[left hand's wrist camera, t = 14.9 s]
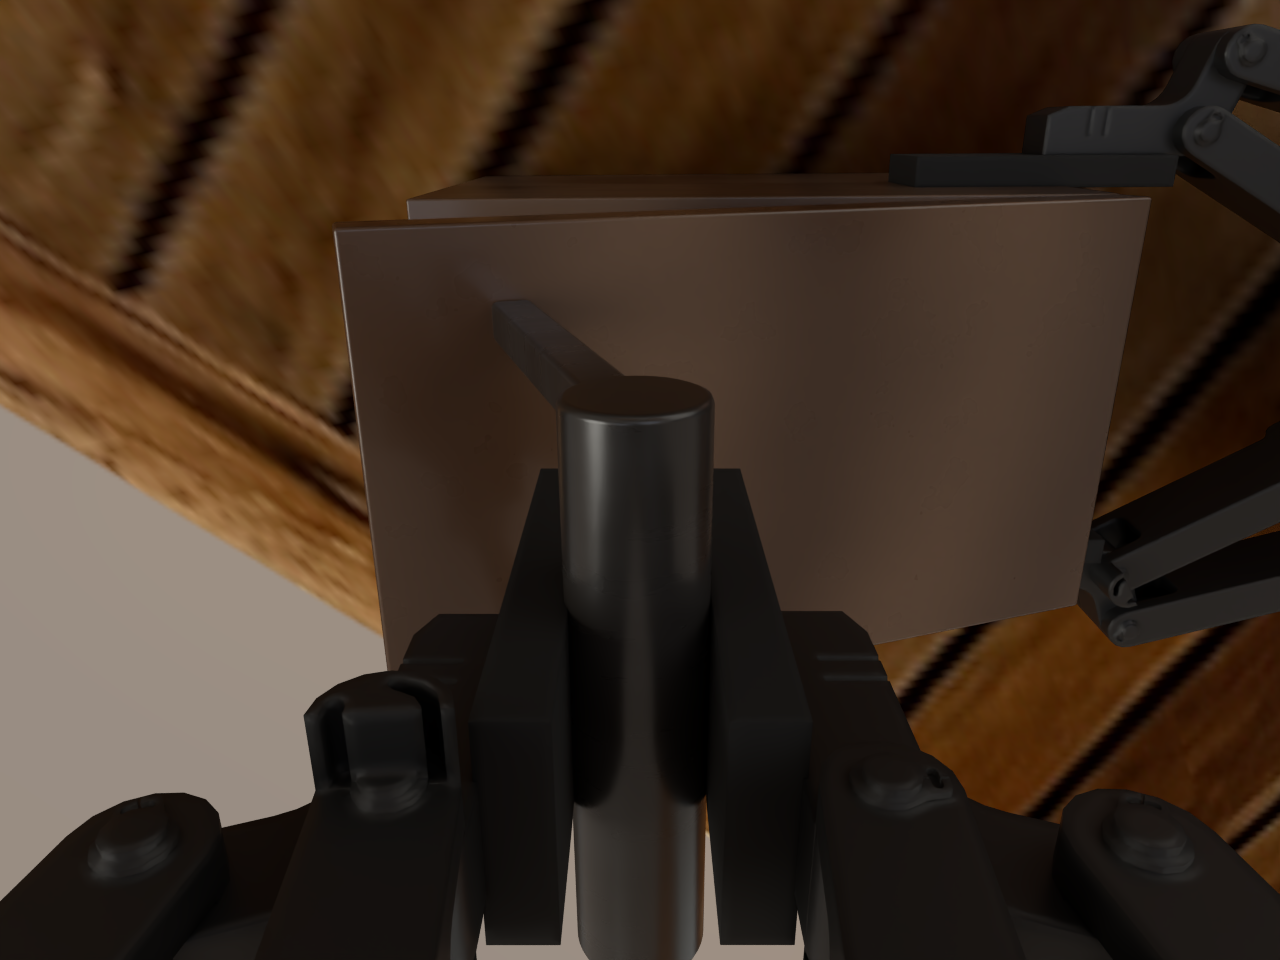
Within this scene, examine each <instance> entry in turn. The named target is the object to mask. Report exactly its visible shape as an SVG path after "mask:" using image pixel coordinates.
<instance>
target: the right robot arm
mask: <svg viewBox="0 0 1280 960" xmlns="http://www.w3.org/2000/svg"><path fill="white" fill-rule="evenodd" d="M1172 65H1173V71H1174V73H1173V75H1172V77H1171V78H1170V80H1169V82H1168V84H1167V86H1166V88H1165V89H1164V91H1163V92H1162V93H1161V94H1160V95H1159V96H1158V97H1157V98H1156V99H1155V100H1153V101H1152V102H1150V103H1148V104H1146V105H1143V106H1065V107H1048V108H1045V109H1042V110H1040V111H1037V112H1035V113H1033V114H1030V115H1028V116H1027V120H1026V127H1025V134H1024V142H1023V149H1022V153H988V154H891V155H890V167H889V178H888V182H892V183H896V184H901V185H905V186H910V187H1041V186H1066V187H1173V184H1174V179H1175V174H1177V175H1178V176H1180V177H1181V178H1183V179H1184V180H1186V181H1187V182H1189V183H1190V184H1192V185H1193V186H1195V187H1196V188H1198V189H1200V190H1201V191H1203V192H1204V193H1206V194H1207V195H1209V196H1210V197H1212V198H1213V199H1215V200H1216V201H1218V202H1219V203H1221V204H1222V205H1224V206H1225V207H1227V208H1228V209H1230V210H1231V211H1233V212H1234V213H1236V214H1237V215H1239V216H1240V217H1242V218H1243V219H1245V220H1246V221H1248V222H1249V223H1251V224H1252V225H1254V226H1255V227H1257V228H1258V229H1260V230H1261V231H1263V232H1264V233H1266V234H1267V235H1269V236H1270V237H1272V238H1274V239H1275V240H1277V241H1278V242H1280V147H1279V146H1278V145H1277V144H1275V143H1274V142H1272V141H1271V140H1269V139H1268V138H1266V137H1265V136H1263V135H1262V134H1261V133H1259V132H1258V131H1256V130H1255V129H1253V128H1252V127H1250V126H1249V125H1247V124H1246V123H1244V122H1243V121H1242V120H1240V119H1239V118H1237V117H1236V116H1234V115H1233V114H1231V113H1232V112H1233V110H1234V108H1235V106H1236V104H1237V102H1238V101H1239V100H1241V101H1245V102H1248V103H1251V104H1254V105H1257V106H1260V107H1264V108H1267V109H1270V110H1273V111H1276V112H1279V113H1280V30H1279V29H1275V28H1272V27H1269V26H1266V25H1262V24H1250V25H1245V26H1239V27H1233V28H1228V29H1222V30H1216V31H1211V32H1205V33H1199V34H1195V35H1193V36H1190V37H1188V38H1186V39H1185V40H1184V41H1183V42H1181V43H1180V45H1179V46H1178V48H1177V49H1176V51H1175V53H1174V57H1173V60H1172ZM1279 522H1280V421H1279V422H1277V423H1275V424H1273V425H1272V426H1270V427H1269V428H1268V429H1267V430H1266V436H1265V437H1264V438H1263V439H1262V440H1260V441H1258V442H1256V443H1254V444H1252V445H1250V446H1248V447H1246V448H1243V449H1241V450H1239V451H1237V452H1235V453H1233V454H1231V455H1229V456H1227V457H1225V458H1222V459H1220V460H1218V461H1216V462H1214V463H1212V464H1210V465H1208V466H1206V467H1204V468H1202V469H1199V470H1197V471H1195V472H1193V473H1191V474H1189V475H1187V476H1185V477H1183V478H1181V479H1178V480H1176V481H1174V482H1172V483H1170V484H1168V485H1166V486H1164V487H1162V488H1160V489H1157V490H1155V491H1153V492H1151V493H1149V494H1147V495H1145V496H1143V497H1141V498H1139V499H1137V500H1134V501H1132V502H1130V503H1128V504H1126V505H1124V506H1122V507H1120V508H1118V509H1116V510H1113V511H1111V512H1109V513H1107V514H1105V515H1103V516H1101V517H1099V518H1097V519H1095V520H1093V521H1092V524H1091V529H1090V535H1089V540H1088V546H1087V551H1086V556H1085V562H1084V567H1083V573H1082V578H1081V583H1080V589H1079V594H1078V600H1077V604H1078V606H1079V607H1080V608H1081V609H1082V610H1083V611H1084V612H1085V613H1086V614H1087V615H1088V617H1089V618H1090V619H1091V620H1092V621H1093V622H1094V623H1095V624H1096V625H1097V626H1098V627H1099V629H1100V630H1101V631H1102V632H1103V633H1104V634H1105V635H1106V636H1107V637H1108V638H1109V639H1110V641H1112V642H1113V643H1114V644H1115V645H1117V646H1120V647H1130V646H1135V645H1139V644H1143V643H1147V642H1152V641H1156V640H1160V639H1164V638H1169V637H1173V636H1177V635H1181V634H1186V633H1190V632H1194V631H1198V630H1203V629H1207V628H1211V627H1215V626H1220V625H1224V624H1228V623H1232V622H1237V621H1241V620H1245V619H1249V618H1253V617H1258V616H1262V615H1266V614H1270V613H1275V612H1279V611H1280V531H1277V532H1273V533H1268V534H1264V535H1260V536H1256V537H1252V538H1248V539H1244V538H1246V537H1248V536H1251V535H1253V534H1255V533H1257V532H1259V531H1261V530H1264V529H1266V528H1268V527H1270V526H1272V525H1275V524H1277V523H1279ZM1242 539H1244V540H1242Z"/></svg>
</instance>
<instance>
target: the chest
mask: <svg viewBox="0 0 1280 960" xmlns="http://www.w3.org/2000/svg"><path fill="white" fill-rule="evenodd" d="M888 178H889V173H812V174H686V175H561V176H486V177H482V178H479V179H475V180H472V181H468V182H465V183H462V184H458V185H455V186H451V187H448V188H444V189H441V190H437V191H434V192H431V193H427V194H424V195H420V196H417V197H413V198H410V199H407V211H408V219H436V218H463V217H491V216H519V215H547V214H575V213H603V212H631V211H658V210H686V209H714V208H742V207H770V206H798V205H825V204H853V203H881V202H909V201H937V200H965V199H992V198H1020V197H1048V196H1076V195H1104V194H1117V193H1111V192H1103V191H1096V190H1088V189H1081V188H1074V187H1066V186H1041V187H910V186H905V185H901V184H896V183H892V182H888Z"/></svg>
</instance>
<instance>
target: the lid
mask: <svg viewBox="0 0 1280 960" xmlns="http://www.w3.org/2000/svg"><path fill="white" fill-rule="evenodd" d="M1150 206H1151V198H1150V197H1145V196H1132V195H1120V194H1104V195H1076V196H1048V197H1020V198H992V199H965V200H937V201H909V202H881V203H853V204H825V205H798V206H770V207H742V208H714V209H686V210H658V211H631V212H603V213H575V214H547V215H519V216H491V217H463V218H436V219H408V220H380V221H352V222H335V223H333V225H332V230H333V238H334V246H335V254H336V262H337V270H338V278H339V286H340V294H341V302H342V310H343V318H344V326H345V334H346V342H347V350H348V358H349V366H350V374H351V382H352V390H353V398H354V406H355V414H356V422H357V430H358V438H359V446H360V454H361V462H362V470H363V478H364V486H365V494H366V502H367V510H368V518H369V526H370V534H371V542H372V550H373V558H374V566H375V574H376V582H377V590H378V598H379V606H380V614H381V622H382V630H383V638H384V646H385V654H386V662H387V670H388V671H391V670H394V671H398V669H399V667H400V664H403V658H404V655H405V653H406V651H407V649H408V646H409V644H410V642H411V640H412V637H413V635H414V634H415V633H416V632H418V631H419V630H420V629H421V628H422V627H424V626H425V625H426V624H427V623H428V622H430V621H431V620H432V619H433V618H434V617H436V616H437V615H438V614H499V612H500V609H501V605H502V602H503V598H504V595H505V591H506V588H507V584H508V581H509V577H510V574H511V570H512V567H513V563H514V560H515V556H516V553H517V549H518V546H519V542H520V539H521V535H522V532H523V528H524V525H525V522H526V518H527V515H528V511H529V508H530V504H531V501H532V497H533V494H534V490H535V487H536V483H537V480H538V476H539V473H540V469H541V468H558V477H559V500H560V523H561V547H562V570H563V594H564V603H565V605H566V607H567V609H568V632H569V661H570V690H571V719H572V749H573V778H574V810H573V828H574V851H575V874H576V897H577V921H578V937H579V941H580V944H581V947H582V949H583V951H584V953H585V954H586V956H587V957H588V959H589V960H692V958H693V957H694V955H695V954H696V952H697V951H698V949H699V946H700V944H701V941H702V937H703V914H704V869H705V826H706V768H707V730H708V691H709V647H710V603H711V558H712V514H713V469H714V468H740V470H741V473H742V477H743V480H744V484H745V487H746V491H747V494H748V498H749V501H750V505H751V508H752V511H753V515H754V518H755V522H756V525H757V529H758V532H759V536H760V539H761V543H762V546H763V550H764V553H765V557H766V560H767V564H768V567H769V571H770V574H771V578H772V581H773V585H774V588H775V592H776V595H777V598H778V602H779V605H780V609H781V611H843V612H844V613H845V614H846V615H848V616H849V617H850V618H851V619H853V620H854V621H855V622H856V623H857V624H859V625H860V626H861V627H862V628H864V629H865V630H866V631H867V632H868V634H869V636H870V638H871V641H872V643H873V645H876V644H881V643H886V642H892V641H897V640H902V639H907V638H912V637H917V636H922V635H927V634H932V633H937V632H942V631H947V630H952V629H957V628H962V627H967V626H972V625H978V624H983V623H988V622H993V621H998V620H1003V619H1008V618H1013V617H1018V616H1023V615H1028V614H1033V613H1038V612H1043V611H1048V610H1053V609H1058V608H1064V607H1069V606H1074V605H1076V604H1077V600H1078V594H1079V589H1080V583H1081V578H1082V573H1083V567H1084V562H1085V556H1086V551H1087V546H1088V540H1089V535H1090V529H1091V524H1092V519H1093V513H1094V508H1095V502H1096V497H1097V492H1098V486H1099V481H1100V476H1101V470H1102V465H1103V459H1104V454H1105V449H1106V443H1107V438H1108V432H1109V427H1110V422H1111V416H1112V411H1113V405H1114V400H1115V395H1116V389H1117V384H1118V378H1119V373H1120V368H1121V362H1122V357H1123V351H1124V346H1125V341H1126V335H1127V330H1128V324H1129V319H1130V314H1131V308H1132V303H1133V297H1134V292H1135V287H1136V281H1137V276H1138V270H1139V265H1140V260H1141V254H1142V249H1143V243H1144V238H1145V233H1146V227H1147V222H1148V217H1149V211H1150Z"/></svg>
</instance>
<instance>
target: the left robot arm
mask: <svg viewBox="0 0 1280 960" xmlns="http://www.w3.org/2000/svg"><path fill="white" fill-rule="evenodd" d="M304 721H305V727H306V733H307V740H308V746H309V752H310V758H311V765H312V771H313V777H314V783H315V790H316V791H315V794H314V796H313V799H312V802H311V803H309V804H307V805H305V806H303V807H300V808H298V809H296V810H292V811H289V812H286V813H282V814H279V815H276V816H272V817H268V818H263V819H259V820H254V821H250V822H246V823H241V824H237V825H233V826H228V827H224V828H222V827H221V823H220V818H219V813H218V812H217V811H216V810H215V809H214V808H213V806H212V805H211V804H210V803H209V802H208V801H207V800H206V799H203V798H200V797H196V796H193V795H190V794H187V793H155V794H151V795H147V796H144V797H140V798H136V799H132V800H128V801H124V802H122V803H120V804H118V805H116V806H113V807H111V808H109V809H107V810H105V811H103V812H101V813H99V814H97V815H95V816H93V817H91V818H90V819H89V820H87V821H86V822H85V823H83V824H82V825H81V826H79V827H78V828H77V829H75V830H74V831H73V832H72V833H70V834H69V835H68V836H66V837H65V838H64V839H63V840H62V841H61V842H60V843H59V844H58V845H57V846H56V847H55V848H54V849H53V850H52V851H51V852H50V853H49V854H48V855H47V856H46V857H45V858H44V859H43V860H42V861H41V862H40V863H39V864H38V865H37V866H36V867H35V868H34V869H33V870H32V871H31V872H30V873H29V874H28V875H27V876H26V877H25V878H24V879H22V880H21V881H20V882H19V883H18V884H17V885H16V886H15V887H14V888H13V889H12V890H11V891H10V892H9V893H8V894H7V895H6V896H5V897H4V898H3V899H2V900H1V901H0V960H477V958H476V949H477V944H478V939H479V934H480V929H481V924H482V918H483V914H484V923H485V936H486V945H560V944H561V934H562V924H563V914H564V903H565V893H566V882H567V872H568V862H569V852H570V841H571V831H572V820H573V810H574V778H573V749H572V719H571V690H570V661H569V632H568V609H567V607H566V605H565V603H564V594H563V570H562V547H561V523H560V500H559V477H558V468H541V469H540V473H539V476H538V480H537V483H536V487H535V490H534V494H533V497H532V501H531V504H530V508H529V511H528V515H527V518H526V522H525V525H524V528H523V532H522V535H521V539H520V542H519V546H518V549H517V553H516V556H515V560H514V563H513V567H512V570H511V574H510V577H509V581H508V584H507V588H506V591H505V595H504V598H503V602H502V605H501V609H500V612H499V614H438V615H437V616H436V617H434V618H433V619H432V620H431V621H430V622H428V623H427V624H426V625H425V626H424V627H422V628H421V629H420V630H419V631H418V632H416V633H415V634H414V635H413V637H412V640H411V642H410V644H409V646H408V649H407V651H406V653H405V655H404V658H403V664H400V667H399V669H398V671H394V670H391V671H384V672H378V673H371V674H364V675H361V676H359V677H356V678H353V679H351V680H348V681H345V682H342V683H340V684H337V685H336V686H334V687H333V688H331V689H330V690H328V691H327V692H325V693H324V694H322V695H321V696H319V697H318V698H316V700H315V701H314V702H313V704H312V705H311V706H310V707H309V709H308V710H307V711H306V713H305V714H304ZM706 802H707V812H708V822H709V833H710V843H711V853H712V864H713V874H714V885H715V895H716V905H717V916H718V926H719V936H720V944H721V945H794V944H795V933H796V921H797V910H798V915H799V920H800V925H801V930H802V935H803V940H804V945H805V946H804V958H803V960H1280V895H1279V894H1278V893H1277V892H1276V891H1275V890H1274V889H1273V888H1272V887H1271V886H1270V885H1269V884H1268V883H1267V882H1266V881H1265V880H1264V879H1263V878H1262V877H1261V876H1260V875H1259V874H1258V873H1257V872H1256V871H1255V870H1254V869H1253V868H1252V867H1251V866H1250V865H1249V864H1248V863H1247V862H1246V861H1245V860H1243V859H1242V858H1241V857H1240V856H1239V855H1238V854H1237V853H1236V852H1235V851H1234V850H1233V849H1232V848H1231V847H1230V846H1229V845H1228V844H1227V843H1226V842H1225V841H1224V840H1223V839H1222V838H1221V837H1220V836H1219V835H1218V834H1217V833H1216V832H1214V831H1213V830H1212V829H1210V828H1209V827H1208V826H1207V825H1205V824H1204V823H1203V822H1201V821H1200V820H1199V819H1197V818H1196V817H1195V816H1193V815H1192V814H1191V813H1189V812H1187V811H1185V810H1183V809H1181V808H1179V807H1177V806H1175V805H1173V804H1170V803H1168V802H1166V801H1164V800H1162V799H1160V798H1157V797H1153V796H1149V795H1146V794H1142V793H1138V792H1134V791H1130V790H1122V789H1096V790H1092V791H1089V792H1086V793H1082V794H1079V795H1076V796H1075V797H1074V798H1073V799H1072V800H1071V801H1070V802H1069V803H1068V804H1067V805H1066V807H1065V808H1064V809H1063V813H1062V817H1061V822H1060V824H1057V823H1052V822H1048V821H1043V820H1039V819H1034V818H1030V817H1026V816H1021V815H1017V814H1012V813H1008V812H1005V811H1001V810H998V809H995V808H991V807H988V806H985V805H982V804H980V803H978V802H976V801H974V800H972V799H969V798H967V795H966V792H965V790H964V788H963V787H962V785H961V783H960V782H959V780H958V779H957V777H956V776H955V774H954V773H953V771H952V770H950V769H949V768H948V767H946V766H945V765H944V764H942V763H941V762H940V761H938V760H937V759H936V758H934V757H933V756H932V755H929V754H927V753H924V752H922V751H920V748H919V746H918V744H917V742H916V739H915V737H914V735H913V733H912V730H911V728H910V726H909V724H908V722H907V719H906V717H905V715H904V713H903V710H902V708H901V706H900V704H899V701H898V699H897V697H896V695H895V692H894V690H893V688H892V686H891V683H890V681H887V674H886V672H885V670H884V668H883V665H882V663H881V661H878V654H877V652H876V650H875V647H874V645H873V643H872V641H871V638H870V636H869V634H868V632H867V631H866V630H865V629H864V628H862V627H861V626H860V625H859V624H857V623H856V622H855V621H854V620H853V619H851V618H850V617H849V616H848V615H846V614H845V613H844V612H843V611H781V609H780V605H779V602H778V598H777V595H776V592H775V588H774V585H773V581H772V578H771V574H770V571H769V567H768V564H767V560H766V557H765V553H764V550H763V546H762V543H761V539H760V536H759V532H758V529H757V525H756V522H755V518H754V515H753V511H752V508H751V505H750V501H749V498H748V494H747V491H746V487H745V484H744V480H743V477H742V473H741V470H740V468H714V469H713V514H712V558H711V603H710V647H709V691H708V730H707V768H706Z"/></svg>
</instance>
